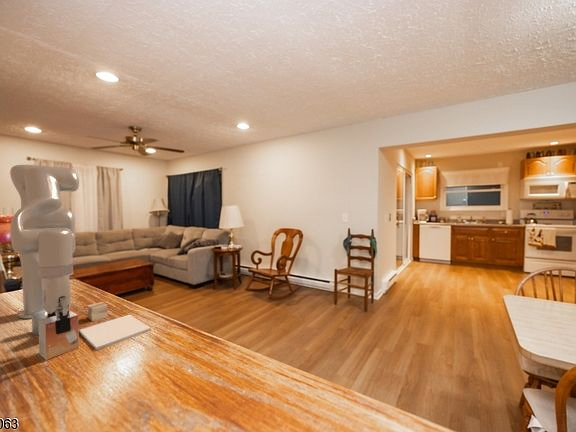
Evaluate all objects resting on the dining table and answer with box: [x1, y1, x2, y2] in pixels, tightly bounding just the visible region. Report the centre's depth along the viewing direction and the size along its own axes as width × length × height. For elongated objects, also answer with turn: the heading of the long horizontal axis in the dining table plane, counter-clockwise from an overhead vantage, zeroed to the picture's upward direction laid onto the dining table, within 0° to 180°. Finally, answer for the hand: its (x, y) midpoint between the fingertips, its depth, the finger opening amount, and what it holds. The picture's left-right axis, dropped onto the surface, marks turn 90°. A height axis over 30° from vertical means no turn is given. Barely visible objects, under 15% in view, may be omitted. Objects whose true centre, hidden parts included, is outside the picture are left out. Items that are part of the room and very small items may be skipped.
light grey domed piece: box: [31, 309, 48, 336], centre depth 90 cm, size 4×4×7 cm
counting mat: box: [79, 314, 152, 351], centre depth 91 cm, size 18×16×1 cm
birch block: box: [87, 301, 109, 322], centre depth 102 cm, size 5×5×5 cm
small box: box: [38, 310, 80, 361], centre depth 78 cm, size 8×6×10 cm
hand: (59, 327), depth 78 cm, fingers open, 9 cm apart
